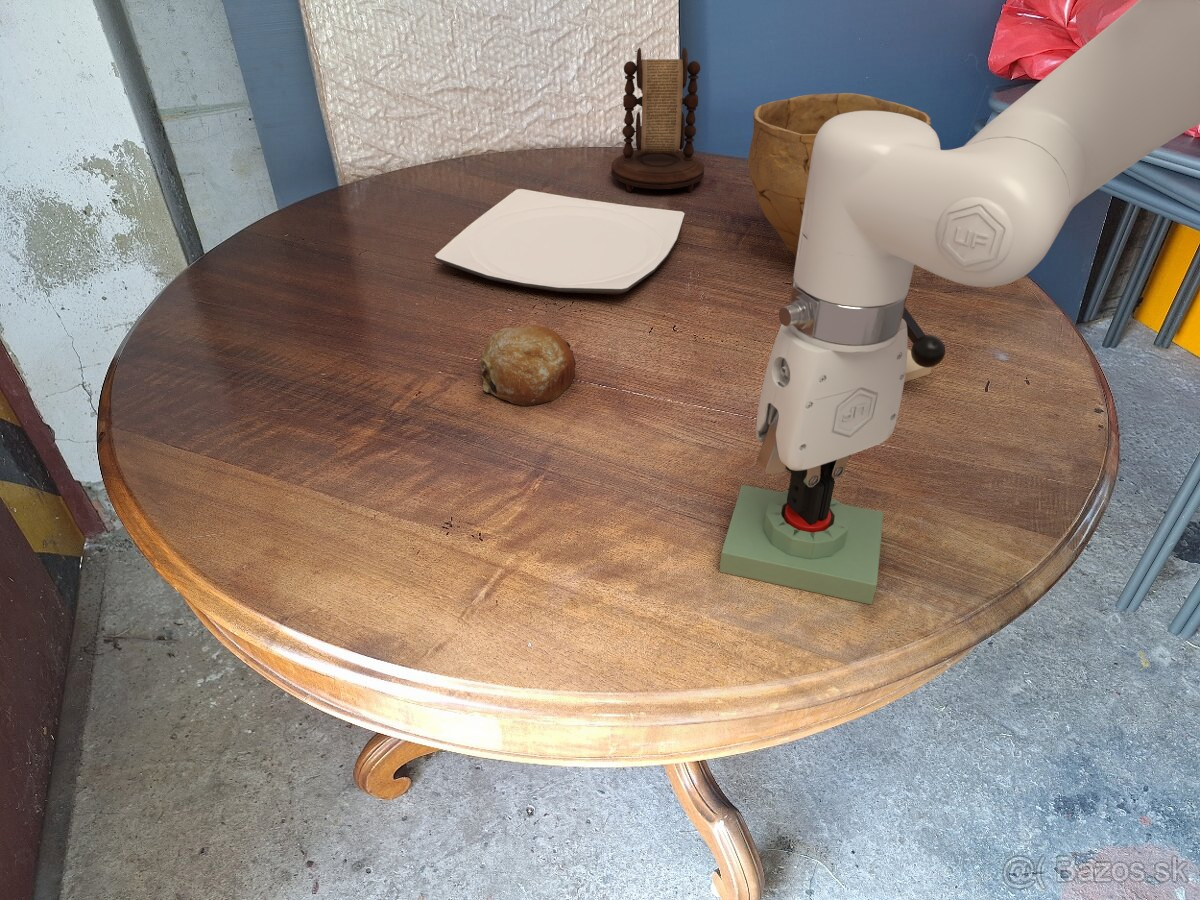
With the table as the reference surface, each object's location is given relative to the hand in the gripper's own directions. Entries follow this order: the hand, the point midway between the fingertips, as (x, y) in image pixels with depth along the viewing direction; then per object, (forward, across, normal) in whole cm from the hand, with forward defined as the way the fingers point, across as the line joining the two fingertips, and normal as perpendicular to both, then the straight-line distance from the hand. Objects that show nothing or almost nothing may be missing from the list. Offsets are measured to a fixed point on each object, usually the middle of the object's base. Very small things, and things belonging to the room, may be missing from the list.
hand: (806, 511), depth 72 cm
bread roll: (+5, -9, +34) cm, 36 cm away
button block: (+4, 0, 0) cm, 4 cm away
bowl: (+4, +36, +43) cm, 56 cm away
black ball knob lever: (-2, +25, +18) cm, 31 cm away
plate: (+5, +9, +62) cm, 63 cm away
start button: (+2, 0, 0) cm, 2 cm away
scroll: (+5, +33, +80) cm, 87 cm away
